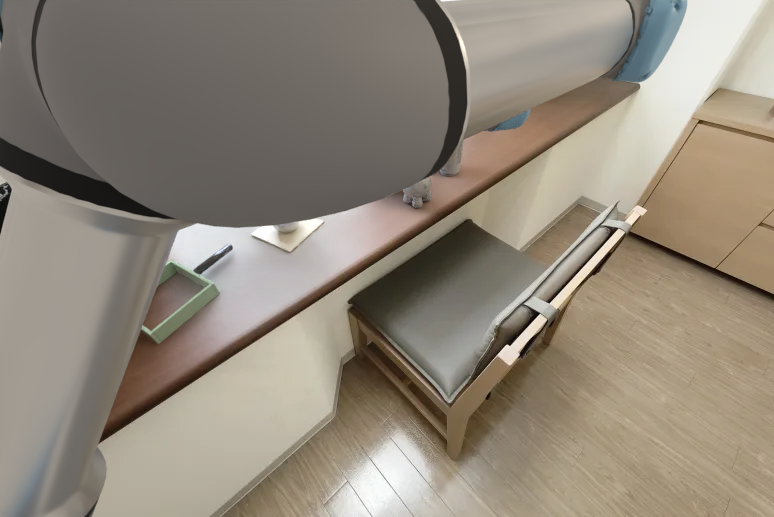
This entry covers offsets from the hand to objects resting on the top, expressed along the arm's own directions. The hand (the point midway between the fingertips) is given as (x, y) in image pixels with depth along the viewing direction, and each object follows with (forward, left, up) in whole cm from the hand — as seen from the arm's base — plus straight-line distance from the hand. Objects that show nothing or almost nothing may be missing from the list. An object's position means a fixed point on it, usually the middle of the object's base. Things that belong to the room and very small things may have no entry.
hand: (271, 108), depth 50 cm
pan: (-18, +17, -32) cm, 40 cm away
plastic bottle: (+6, +12, -32) cm, 34 cm away
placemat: (+6, +12, -32) cm, 35 cm away
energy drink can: (+47, -11, -32) cm, 58 cm away
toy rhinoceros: (+31, -7, -32) cm, 45 cm away
